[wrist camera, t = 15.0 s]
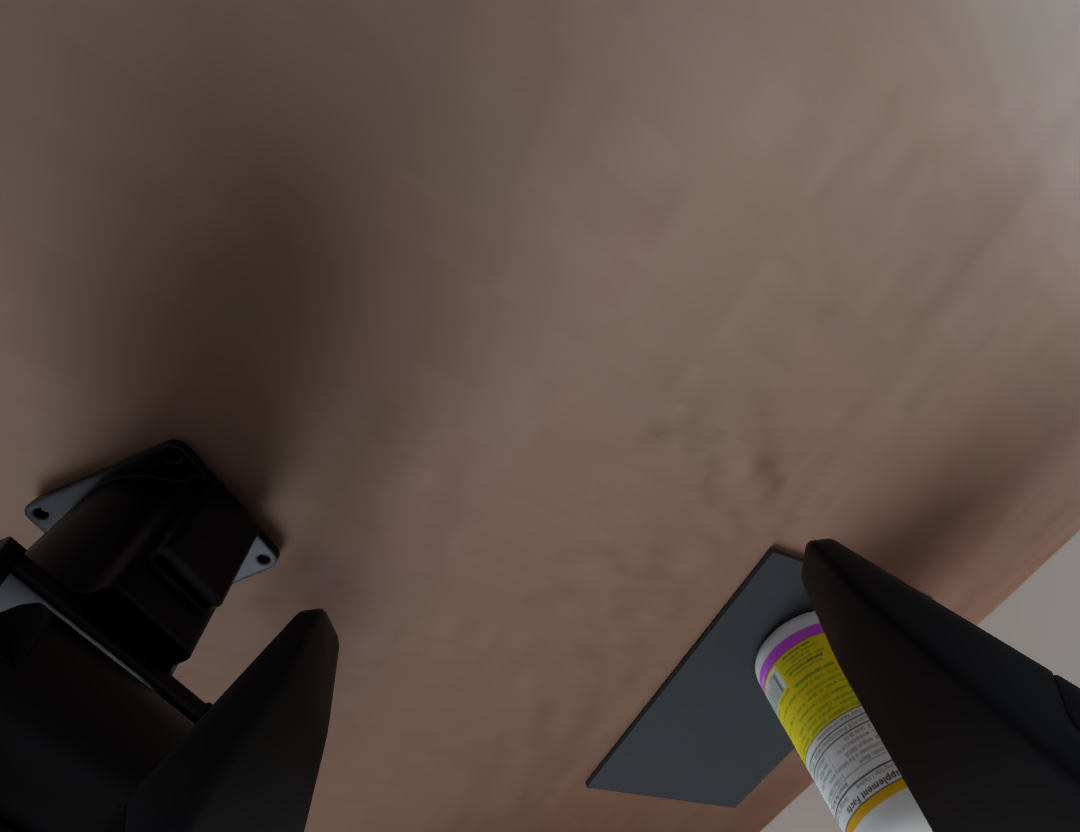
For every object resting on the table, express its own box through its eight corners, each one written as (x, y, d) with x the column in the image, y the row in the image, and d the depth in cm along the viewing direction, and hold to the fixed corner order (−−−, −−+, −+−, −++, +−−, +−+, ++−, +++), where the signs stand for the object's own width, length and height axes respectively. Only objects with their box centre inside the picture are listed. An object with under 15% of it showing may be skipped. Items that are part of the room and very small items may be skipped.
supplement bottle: (883, 633, 30) (1138, 923, 19) (793, 699, 32) (978, 1003, 21) (820, 584, 28) (1072, 887, 16) (726, 659, 29) (895, 981, 18)
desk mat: (733, 803, 37) (735, 808, 37) (585, 782, 33) (586, 787, 33) (930, 602, 30) (934, 606, 30) (770, 548, 26) (773, 552, 26)
